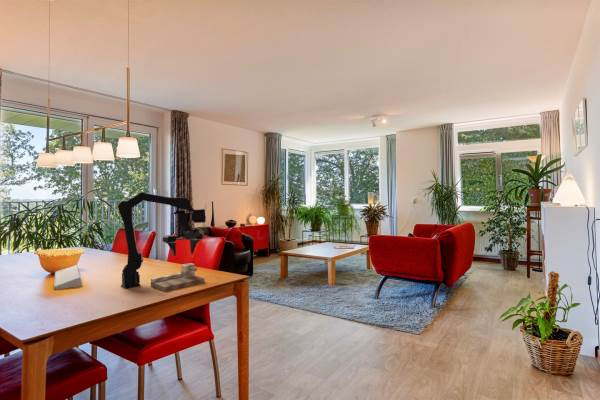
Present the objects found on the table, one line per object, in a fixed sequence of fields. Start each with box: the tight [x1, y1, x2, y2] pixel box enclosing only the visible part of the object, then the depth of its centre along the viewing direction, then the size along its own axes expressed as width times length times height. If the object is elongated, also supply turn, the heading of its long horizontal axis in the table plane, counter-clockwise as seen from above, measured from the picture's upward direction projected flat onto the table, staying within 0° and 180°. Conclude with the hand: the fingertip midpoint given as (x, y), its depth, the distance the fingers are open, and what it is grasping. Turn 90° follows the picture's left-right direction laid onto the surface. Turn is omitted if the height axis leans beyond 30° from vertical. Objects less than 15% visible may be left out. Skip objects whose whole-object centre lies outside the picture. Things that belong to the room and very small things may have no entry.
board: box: [150, 272, 205, 293], centre depth 158 cm, size 20×13×4 cm, turn 139°
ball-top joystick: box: [180, 262, 198, 278], centre depth 162 cm, size 5×9×6 cm, turn 49°
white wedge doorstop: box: [53, 264, 83, 291], centre depth 167 cm, size 34×5×10 cm
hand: (183, 255), depth 164 cm, fingers open, 9 cm apart
